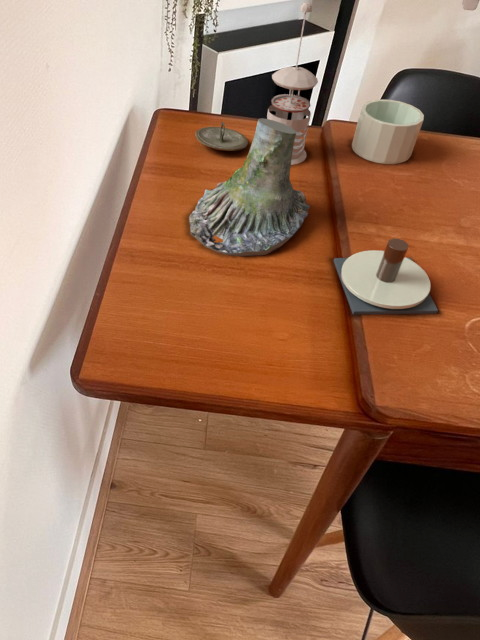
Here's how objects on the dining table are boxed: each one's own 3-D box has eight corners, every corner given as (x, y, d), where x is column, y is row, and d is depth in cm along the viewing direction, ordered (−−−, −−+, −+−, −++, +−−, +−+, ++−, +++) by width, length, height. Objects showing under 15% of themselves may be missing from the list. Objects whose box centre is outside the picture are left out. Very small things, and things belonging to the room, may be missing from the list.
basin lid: (411, 256, 81) (427, 218, 76) (440, 311, 73) (460, 273, 68) (331, 256, 80) (341, 218, 75) (351, 313, 72) (365, 274, 67)
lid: (186, 155, 104) (185, 134, 99) (209, 124, 108) (208, 102, 103) (235, 171, 101) (236, 150, 97) (256, 139, 105) (258, 117, 101)
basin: (399, 137, 110) (412, 99, 104) (418, 165, 102) (432, 126, 96) (345, 136, 109) (354, 98, 103) (359, 164, 101) (371, 125, 96)
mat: (408, 261, 82) (410, 257, 81) (436, 314, 74) (438, 310, 73) (333, 262, 81) (334, 257, 80) (352, 315, 73) (353, 311, 72)
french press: (253, 162, 100) (272, 7, 81) (263, 135, 108) (282, -13, 89) (304, 170, 99) (336, 14, 80) (310, 142, 107) (340, -6, 88)
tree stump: (162, 217, 88) (181, 100, 77) (248, 209, 99) (276, 106, 88) (231, 270, 77) (265, 144, 67) (319, 254, 89) (360, 145, 78)
